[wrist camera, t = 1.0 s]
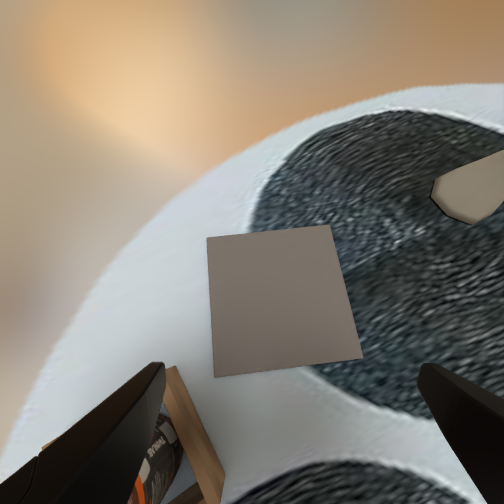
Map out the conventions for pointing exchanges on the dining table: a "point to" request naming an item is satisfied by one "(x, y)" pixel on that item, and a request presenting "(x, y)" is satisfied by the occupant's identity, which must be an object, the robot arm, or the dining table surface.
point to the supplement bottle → (158, 464)
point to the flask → (472, 189)
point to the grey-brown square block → (278, 301)
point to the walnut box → (192, 444)
